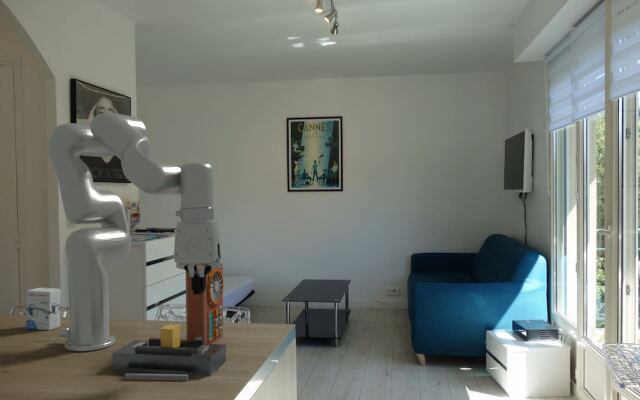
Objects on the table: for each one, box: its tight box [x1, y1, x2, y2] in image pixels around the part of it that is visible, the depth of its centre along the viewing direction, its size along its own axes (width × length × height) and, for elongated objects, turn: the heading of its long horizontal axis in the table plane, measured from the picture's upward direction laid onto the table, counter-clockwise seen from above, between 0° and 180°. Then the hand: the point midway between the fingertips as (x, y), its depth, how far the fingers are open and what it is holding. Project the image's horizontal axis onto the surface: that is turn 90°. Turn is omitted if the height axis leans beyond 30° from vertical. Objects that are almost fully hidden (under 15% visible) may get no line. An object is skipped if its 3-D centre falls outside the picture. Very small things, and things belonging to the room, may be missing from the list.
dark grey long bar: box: [117, 367, 187, 376], centre depth 114 cm, size 16×1×1 cm, turn 81°
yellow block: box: [160, 324, 181, 347], centre depth 121 cm, size 3×4×5 cm
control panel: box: [184, 261, 225, 344], centre depth 139 cm, size 21×7×15 cm
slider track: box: [112, 337, 227, 376], centre depth 121 cm, size 24×10×5 cm, turn 81°
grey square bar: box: [124, 373, 189, 382], centre depth 112 cm, size 14×1×1 cm, turn 87°
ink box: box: [25, 287, 62, 331], centre depth 155 cm, size 9×5×12 cm, turn 77°
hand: (199, 293), depth 119 cm, fingers closed
